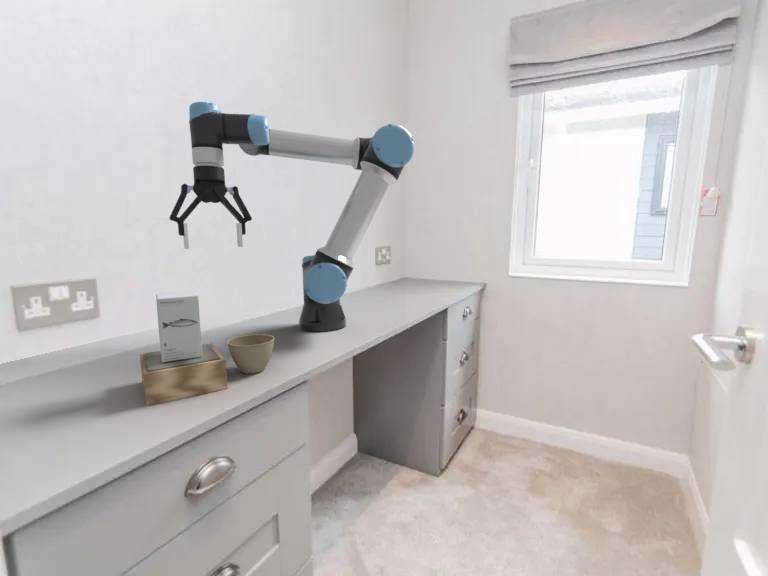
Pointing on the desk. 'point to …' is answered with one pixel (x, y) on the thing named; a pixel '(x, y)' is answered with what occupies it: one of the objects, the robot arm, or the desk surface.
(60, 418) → the desk surface
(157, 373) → the wooden box
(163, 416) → the desk surface
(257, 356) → the flower pot
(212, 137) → the robot arm
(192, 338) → the supplement box
